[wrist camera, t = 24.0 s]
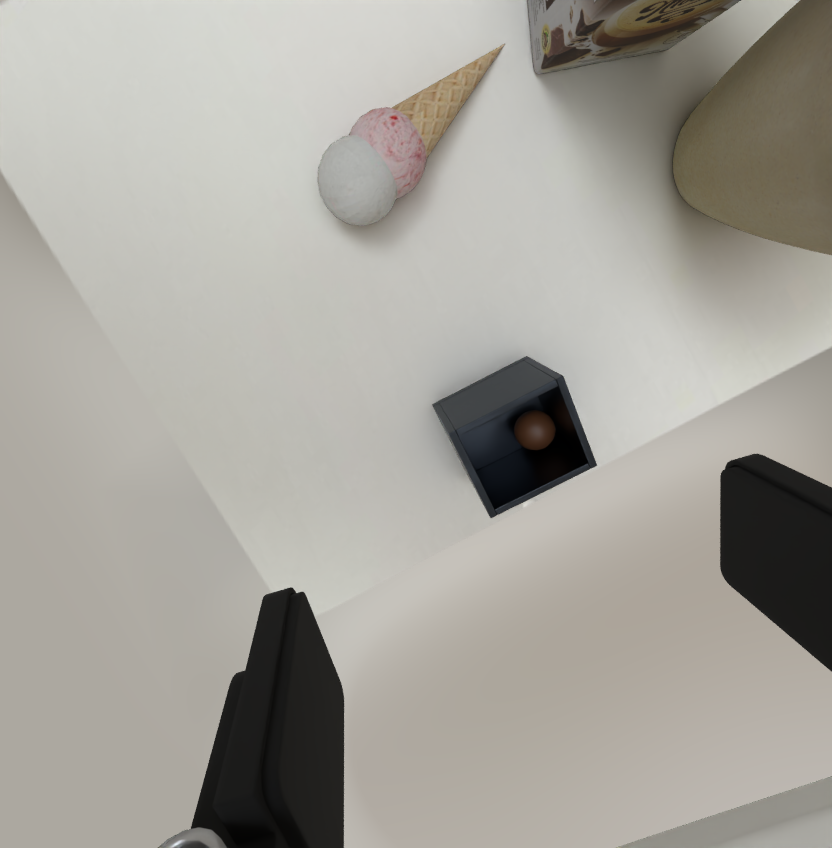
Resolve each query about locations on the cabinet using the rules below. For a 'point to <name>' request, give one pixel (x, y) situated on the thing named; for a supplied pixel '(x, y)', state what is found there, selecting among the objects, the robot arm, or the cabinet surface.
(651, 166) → the cabinet surface
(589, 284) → the cabinet surface
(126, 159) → the cabinet surface
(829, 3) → the plant pot
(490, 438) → the waste bin
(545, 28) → the coffee box
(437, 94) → the ice cream cone
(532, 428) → the ball
